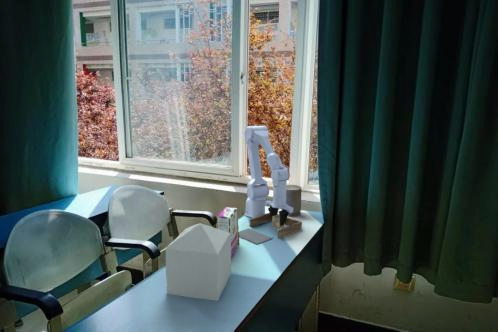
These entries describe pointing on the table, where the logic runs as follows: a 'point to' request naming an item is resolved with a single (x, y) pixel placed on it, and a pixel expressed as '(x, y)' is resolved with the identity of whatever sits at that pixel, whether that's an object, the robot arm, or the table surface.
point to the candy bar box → (229, 225)
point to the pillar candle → (294, 198)
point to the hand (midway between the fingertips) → (278, 223)
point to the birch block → (276, 222)
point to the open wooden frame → (291, 228)
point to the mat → (253, 236)
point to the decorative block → (199, 262)
